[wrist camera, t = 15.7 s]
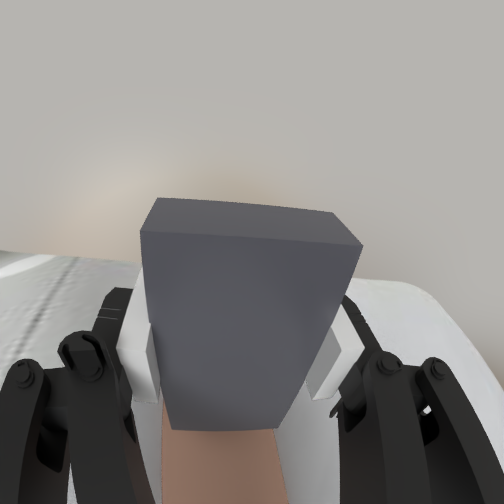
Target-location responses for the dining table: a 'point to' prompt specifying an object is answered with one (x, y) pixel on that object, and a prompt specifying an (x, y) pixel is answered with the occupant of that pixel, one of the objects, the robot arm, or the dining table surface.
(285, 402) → the domino
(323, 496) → the dining table surface
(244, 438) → the domino board
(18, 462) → the robot arm
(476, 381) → the dining table surface
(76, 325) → the dining table surface
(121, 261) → the dining table surface
